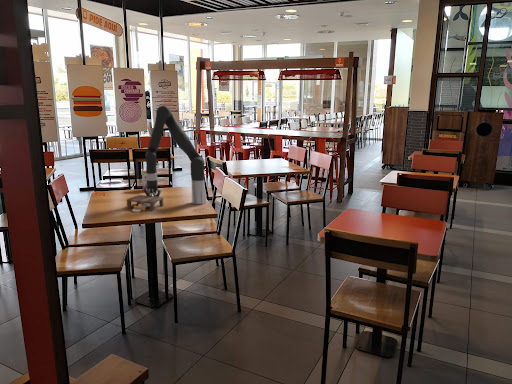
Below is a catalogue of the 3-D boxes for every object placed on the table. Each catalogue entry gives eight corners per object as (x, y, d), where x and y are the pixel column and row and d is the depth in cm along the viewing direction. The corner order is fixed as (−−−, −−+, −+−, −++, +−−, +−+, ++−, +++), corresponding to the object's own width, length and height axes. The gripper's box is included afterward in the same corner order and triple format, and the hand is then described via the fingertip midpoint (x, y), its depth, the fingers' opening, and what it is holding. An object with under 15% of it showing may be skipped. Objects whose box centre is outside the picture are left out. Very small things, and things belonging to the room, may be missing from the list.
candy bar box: (142, 190, 328) (141, 170, 324) (144, 189, 333) (143, 169, 329) (155, 191, 327) (154, 171, 323) (157, 189, 332) (156, 170, 328)
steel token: (143, 210, 273) (143, 208, 272) (138, 212, 267) (138, 210, 267) (135, 209, 274) (135, 207, 274) (130, 212, 269) (130, 209, 268)
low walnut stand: (163, 205, 284) (163, 197, 283) (153, 210, 271) (152, 201, 270) (138, 203, 290) (138, 194, 288) (127, 208, 277) (126, 199, 275)
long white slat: (163, 201, 296) (163, 196, 295) (144, 210, 272) (144, 205, 271) (154, 200, 298) (153, 195, 297) (134, 209, 275) (133, 204, 274)
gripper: (163, 178, 287) (164, 202, 291) (146, 177, 291) (147, 200, 295) (157, 180, 280) (159, 204, 284) (140, 179, 284) (141, 203, 288)
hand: (153, 202), depth 290 cm, fingers closed on long white slat, 2 cm apart
